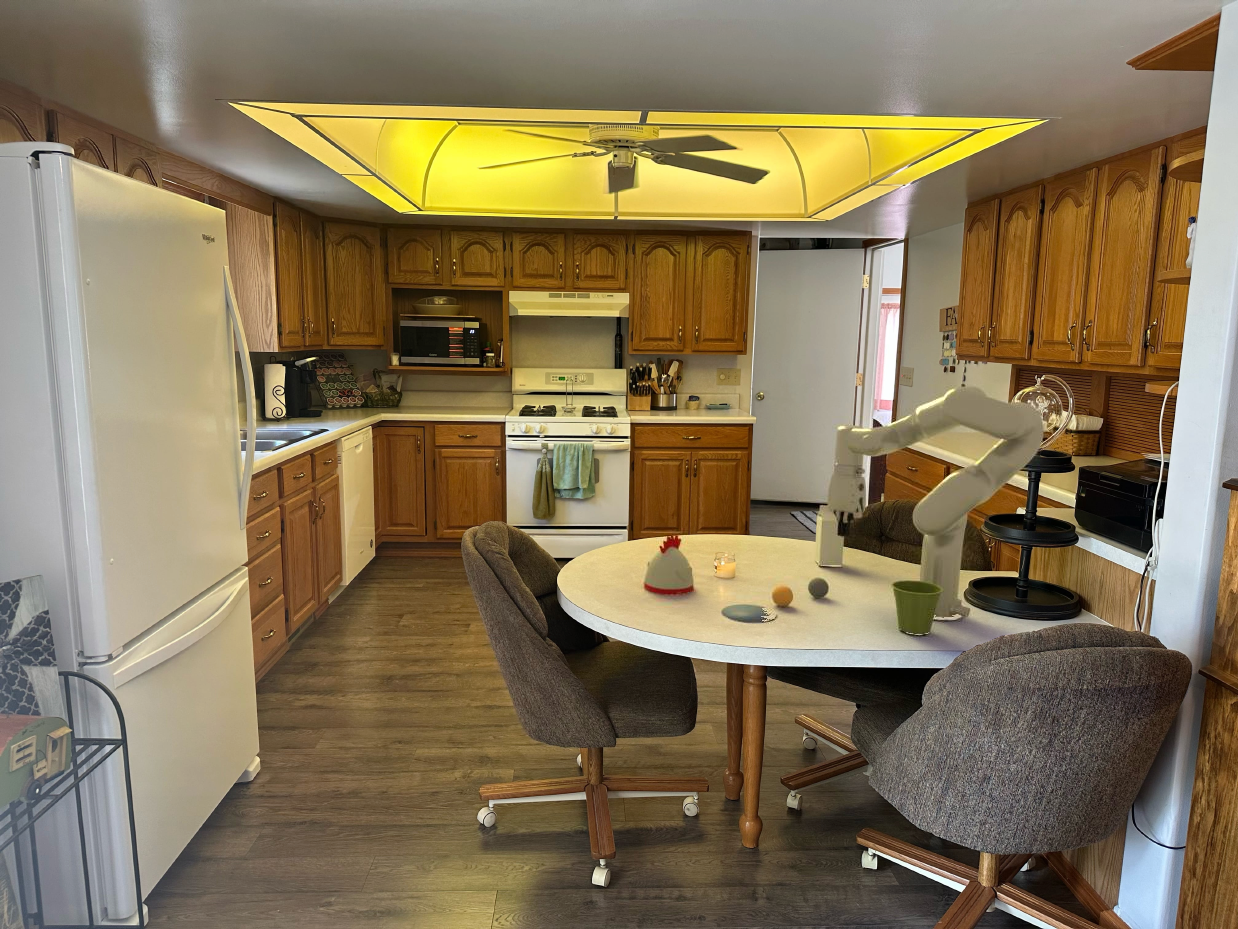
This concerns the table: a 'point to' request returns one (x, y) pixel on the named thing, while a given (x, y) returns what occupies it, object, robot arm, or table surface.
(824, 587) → the gray ball
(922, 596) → the plant pot
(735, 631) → the table surface
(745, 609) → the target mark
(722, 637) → the table surface
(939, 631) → the table surface
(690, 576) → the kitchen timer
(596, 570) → the table surface
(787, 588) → the object ball
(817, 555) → the milk carton
